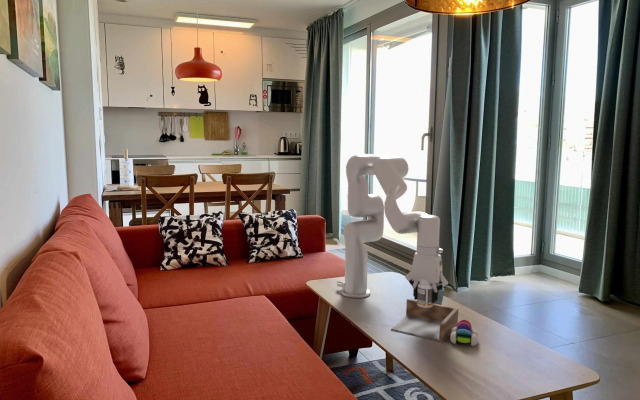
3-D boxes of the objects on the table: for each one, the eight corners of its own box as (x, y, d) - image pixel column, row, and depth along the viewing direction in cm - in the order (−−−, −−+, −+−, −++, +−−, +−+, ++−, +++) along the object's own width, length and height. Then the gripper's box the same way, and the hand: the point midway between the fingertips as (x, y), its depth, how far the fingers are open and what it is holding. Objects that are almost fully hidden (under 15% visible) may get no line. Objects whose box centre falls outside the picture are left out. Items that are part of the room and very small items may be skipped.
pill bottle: (430, 302, 178) (431, 276, 176) (435, 308, 172) (436, 280, 171) (415, 302, 177) (416, 276, 176) (419, 308, 171) (420, 280, 170)
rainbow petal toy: (477, 338, 166) (478, 318, 166) (476, 350, 157) (477, 328, 156) (451, 334, 169) (452, 314, 168) (449, 346, 160) (450, 324, 159)
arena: (388, 329, 172) (389, 313, 171) (407, 313, 188) (407, 298, 187) (442, 342, 163) (443, 324, 162) (457, 324, 179) (458, 308, 178)
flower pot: (440, 305, 199) (441, 283, 198) (443, 312, 190) (444, 290, 189) (418, 304, 200) (419, 282, 198) (420, 311, 191) (421, 289, 190)
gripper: (455, 251, 171) (452, 301, 173) (407, 245, 180) (406, 293, 182) (449, 255, 165) (446, 308, 167) (400, 249, 173) (398, 299, 175)
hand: (425, 299), depth 174 cm, fingers closed on pill bottle, 5 cm apart
